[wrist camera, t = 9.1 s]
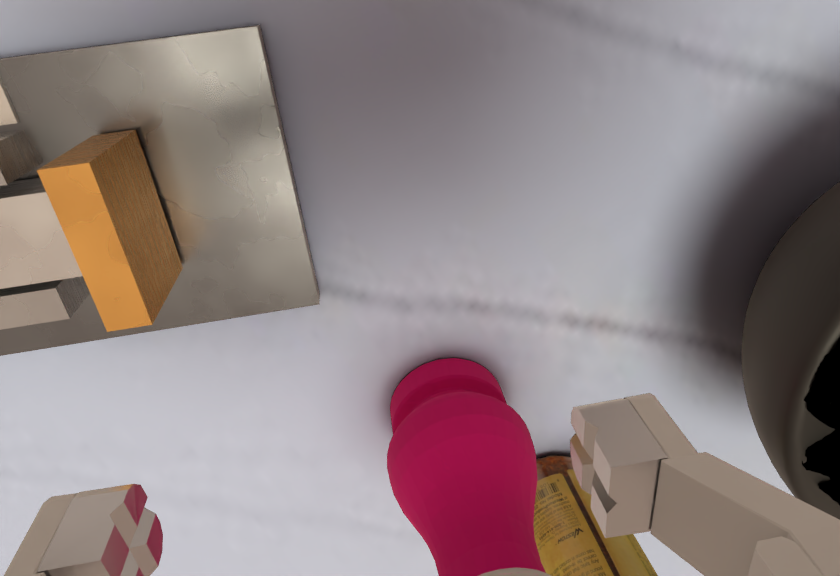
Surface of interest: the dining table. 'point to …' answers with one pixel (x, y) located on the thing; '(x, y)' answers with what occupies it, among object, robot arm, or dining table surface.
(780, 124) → the dining table surface
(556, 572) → the sauce bottle
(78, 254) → the plunger
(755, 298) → the coal bowl
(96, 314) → the bench
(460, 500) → the pepper mill
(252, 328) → the dining table surface
